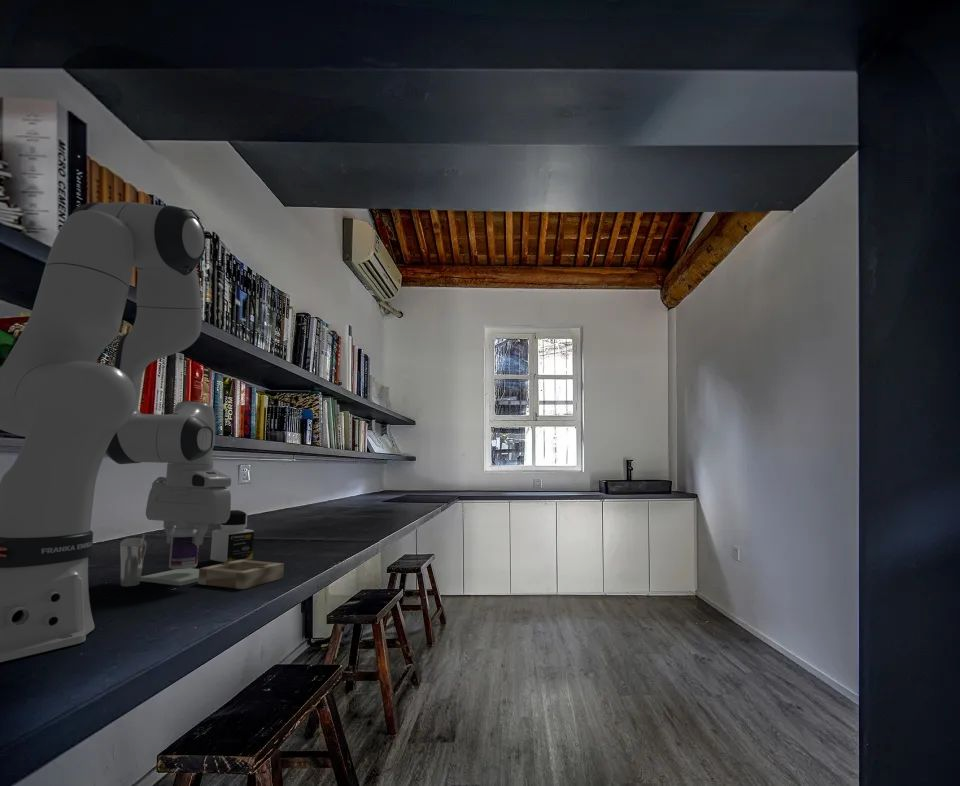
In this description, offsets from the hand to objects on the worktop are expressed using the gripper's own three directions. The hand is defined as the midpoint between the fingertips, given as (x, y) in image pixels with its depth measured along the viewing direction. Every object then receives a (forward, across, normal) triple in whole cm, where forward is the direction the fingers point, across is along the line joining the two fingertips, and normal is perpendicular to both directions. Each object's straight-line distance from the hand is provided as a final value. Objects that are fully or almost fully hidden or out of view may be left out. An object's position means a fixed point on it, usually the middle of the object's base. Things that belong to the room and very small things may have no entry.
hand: (184, 543), depth 120 cm
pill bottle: (+5, 0, 0) cm, 5 cm away
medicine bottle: (+7, -7, +21) cm, 23 cm away
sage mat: (+7, 0, 0) cm, 7 cm away
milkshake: (+7, -4, -9) cm, 12 cm away
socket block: (+7, +13, +3) cm, 15 cm away
